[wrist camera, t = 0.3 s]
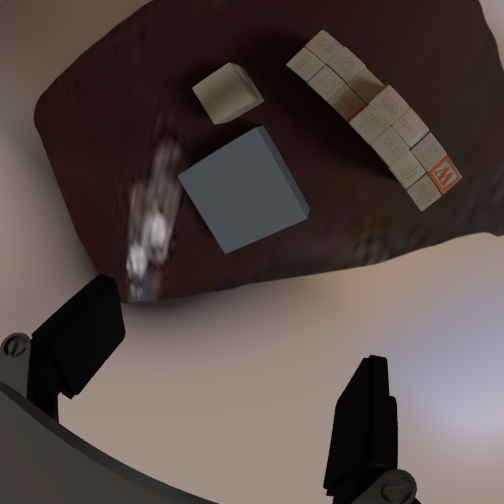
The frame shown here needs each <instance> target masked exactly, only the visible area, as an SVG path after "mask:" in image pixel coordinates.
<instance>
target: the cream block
mask: <svg viewBox="0 0 504 504" xmlns="http://www.w3.org/2000/svg"><path fill="white" fill-rule="evenodd" d="M192 89H193V90H194V92H195V94H196V95H197V97H198V98H199V100H200V102H201V103H202V105H203V107H204V108H205V110H206V111H207V113H208V115H209V116H210V118H211V120H212V121H213V123H214V124H220V123H225V122H230V121H232V120H233V119H235V118H237V117H238V116H240V115H242V114H243V113H245V112H247V111H248V110H250V109H252V108H254V107H255V106H257V105H259V104H260V103H262V102H264V99H263V97H262V96H261V94H260V93H259V91H258V89H257V88H256V86H255V85H254V83H253V82H252V80H251V78H250V77H249V75H248V74H247V72H246V71H245V69H244V68H243V67H240V66H238V65H235V64H232V63H228V64H226V65H225V66H223V67H222V68H220V69H219V70H217V71H216V72H214V73H213V74H211V75H210V76H208V77H207V78H205V79H204V80H203V81H201V82H200V83H198V84H197V85H196V86H194V87H193V88H192Z"/></svg>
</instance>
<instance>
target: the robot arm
mask: <svg viewBox="0 0 504 504" xmlns="http://www.w3.org/2000/svg"><path fill="white" fill-rule="evenodd" d="M32 337H33V338H32V339H31V340H30V338H29V337H28V336H27V335H26V334H24V333H13V334H11V335H9V336H8V337H6V338H5V339H4V341H3V342H2V344H1V347H0V504H218V503H215V502H212V501H209V500H206V499H203V498H201V497H198V496H195V495H192V494H190V493H187V492H184V491H182V490H179V489H177V488H174V487H172V486H170V485H167V484H165V483H163V482H160V481H158V480H156V479H154V478H152V477H149V476H147V475H145V474H143V473H141V472H139V471H137V470H135V469H133V468H131V467H129V466H127V465H125V464H124V463H122V462H120V461H118V460H116V459H114V458H113V457H111V456H109V455H107V454H106V453H104V452H102V451H100V450H99V449H97V448H96V447H94V446H92V445H91V444H89V443H87V442H86V441H84V440H83V439H81V438H80V437H78V436H77V435H75V434H74V433H72V432H71V431H69V430H68V429H66V428H65V427H64V426H62V425H61V424H59V417H58V394H59V393H60V392H61V393H62V394H63V395H65V396H66V397H68V398H70V399H72V398H73V397H74V395H78V394H79V393H80V392H81V391H82V390H83V388H84V387H85V386H86V384H87V383H88V382H89V381H90V380H91V378H92V377H93V376H94V374H95V373H96V372H97V371H98V370H99V368H100V367H101V366H102V365H103V364H104V362H105V361H106V360H107V359H108V357H109V356H110V355H111V354H112V353H113V351H114V350H115V349H116V348H117V347H118V345H119V344H120V343H121V342H122V341H123V339H124V337H125V327H124V322H123V316H122V311H121V305H120V299H119V293H118V286H117V284H116V283H115V280H114V279H113V278H111V277H108V276H106V275H103V274H99V275H98V276H96V277H95V278H94V279H93V280H92V281H90V282H89V283H88V284H87V285H86V286H85V287H83V288H82V289H81V290H80V291H79V292H78V293H77V294H75V295H74V296H73V297H72V298H71V299H70V300H68V302H66V303H65V304H64V305H63V306H62V307H61V308H59V309H58V310H57V311H56V312H55V313H54V314H53V315H52V316H51V317H50V318H48V319H47V320H46V321H45V322H44V323H43V324H42V325H41V326H40V327H39V328H38V329H37V330H36V331H35V332H33V333H32ZM397 459H398V422H397V402H396V399H395V397H393V396H389V380H388V365H387V359H386V358H385V357H380V356H375V355H370V356H369V358H363V360H362V361H361V363H360V365H359V367H358V368H357V370H356V372H355V373H354V375H353V377H352V378H351V380H350V382H349V383H348V385H347V387H346V388H345V390H344V391H343V393H342V394H341V396H340V398H339V399H338V401H337V404H336V407H335V415H334V422H333V430H332V437H331V443H330V450H329V456H328V462H327V467H326V473H325V478H324V484H323V487H324V489H327V493H326V495H327V496H334V498H333V503H332V504H421V503H420V502H419V501H418V500H417V499H416V498H415V495H416V492H417V485H416V482H415V479H414V478H413V477H412V475H411V474H410V473H408V472H406V471H404V470H400V469H397V465H398V460H397Z"/></svg>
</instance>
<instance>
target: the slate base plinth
mask: <svg viewBox="0 0 504 504" xmlns="http://www.w3.org/2000/svg"><path fill="white" fill-rule="evenodd" d="M177 177H178V178H179V180H180V182H181V183H182V185H183V187H184V188H185V190H186V192H187V193H188V195H189V196H190V198H191V200H192V201H193V203H194V205H195V206H196V208H197V209H198V211H199V213H200V214H201V216H202V218H203V219H204V221H205V222H206V224H207V226H208V227H209V229H210V230H211V232H212V234H213V235H214V237H215V238H216V240H217V242H218V243H219V245H220V246H221V248H222V250H223V251H224V253H225V254H227V253H229V252H231V251H233V250H236V249H238V248H240V247H243V246H245V245H247V244H250V243H252V242H254V241H256V240H259V239H261V238H263V237H266V236H268V235H270V234H273V233H275V232H277V231H280V230H282V229H284V228H286V227H289V226H291V225H293V224H296V223H298V222H300V221H303V220H305V219H307V217H308V213H309V210H310V209H309V207H308V205H307V203H306V201H305V199H304V197H303V195H302V193H301V192H300V190H299V188H298V186H297V184H296V182H295V180H294V179H293V177H292V175H291V173H290V171H289V169H288V168H287V166H286V164H285V162H284V160H283V159H282V157H281V155H280V153H279V152H278V150H277V148H276V146H275V145H274V143H273V141H272V139H271V138H270V136H269V134H268V133H267V131H266V129H265V127H264V126H259V127H256V128H254V129H252V130H250V131H249V132H247V133H245V134H244V135H242V136H240V137H238V138H237V139H235V140H233V141H232V142H230V143H228V144H227V145H225V146H223V147H222V148H220V149H219V150H217V151H215V152H214V153H212V154H211V155H209V156H207V157H206V158H204V159H203V160H201V161H200V162H198V163H196V164H195V165H193V166H192V167H190V168H189V169H187V170H186V171H184V172H183V173H181V174H180V175H178V176H177Z"/></svg>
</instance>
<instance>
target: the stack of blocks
mask: <svg viewBox="0 0 504 504" xmlns="http://www.w3.org/2000/svg"><path fill="white" fill-rule="evenodd" d="M286 65H287V66H288V67H289V68H290V69H292V70H293V71H294V72H295V73H296V74H297V75H299V76H300V77H301V78H302V79H303V80H304V81H306V82H307V84H308V85H309V86H311V87H312V88H313V89H314V90H315V91H316V92H317V93H318V94H319V95H320V96H321V97H322V98H324V99H325V100H326V101H327V102H328V103H329V104H330V105H331V106H332V107H333V108H334V109H335V110H336V111H337V112H338V113H339V114H340V115H341V116H342V117H343V118H344V119H345V120H346V121H347V122H348V123H349V124H350V125H351V126H352V127H353V128H354V129H355V130H356V131H357V132H358V134H359V135H360V136H361V137H362V138H363V139H364V140H365V141H366V142H367V143H368V144H369V145H370V146H371V147H372V149H373V150H374V151H375V152H376V153H377V155H378V156H379V157H380V158H381V160H382V161H383V162H384V163H385V165H386V166H387V167H388V168H389V170H390V171H391V172H392V174H393V175H394V176H395V177H396V179H397V180H398V181H399V183H400V184H401V185H402V186H403V188H404V189H405V190H406V191H407V193H408V194H409V195H410V197H411V198H412V199H413V201H414V202H415V203H416V205H417V206H418V207H419V209H420V210H421V211H423V210H424V209H426V208H427V207H428V206H429V205H431V204H432V203H433V202H434V201H435V200H437V199H438V198H439V197H441V194H443V193H445V192H446V191H447V190H449V189H450V188H451V187H452V186H453V185H454V184H455V183H457V182H458V181H459V180H460V179H461V178H462V177H461V175H460V173H459V172H458V170H457V169H456V167H455V166H454V164H453V163H452V161H451V160H450V158H449V157H448V156H447V155H446V152H445V150H444V149H443V148H442V146H441V145H440V144H439V142H438V141H437V140H436V139H435V137H434V136H433V135H432V133H430V132H429V129H428V127H427V126H426V125H425V124H424V122H423V121H422V120H421V119H420V118H419V116H418V115H417V114H416V113H415V112H414V111H413V109H411V108H410V107H409V105H408V104H407V103H406V102H405V101H404V100H403V99H402V98H401V96H400V95H399V94H398V93H397V92H396V91H395V90H394V89H393V88H392V87H391V86H390V85H386V86H384V85H383V84H382V83H381V82H380V81H379V80H378V79H377V78H376V77H375V76H374V75H373V74H372V73H371V72H370V71H369V70H368V69H367V68H366V67H365V65H364V64H363V63H362V62H361V61H360V60H359V59H358V58H357V57H356V56H355V55H354V54H353V53H352V52H350V51H349V50H348V49H347V48H346V47H343V46H342V45H341V44H340V43H339V42H338V41H336V40H335V39H334V38H333V37H332V36H331V35H329V34H328V33H327V32H326V31H325V30H322V31H320V32H319V33H318V34H317V35H316V36H315V37H314V38H313V39H312V40H311V41H309V42H308V43H307V44H306V45H305V47H304V48H303V49H302V50H300V51H299V52H298V53H297V54H296V55H295V56H294V57H293V58H292V59H291V60H290V61H289V62H288V63H287V64H286Z"/></svg>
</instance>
